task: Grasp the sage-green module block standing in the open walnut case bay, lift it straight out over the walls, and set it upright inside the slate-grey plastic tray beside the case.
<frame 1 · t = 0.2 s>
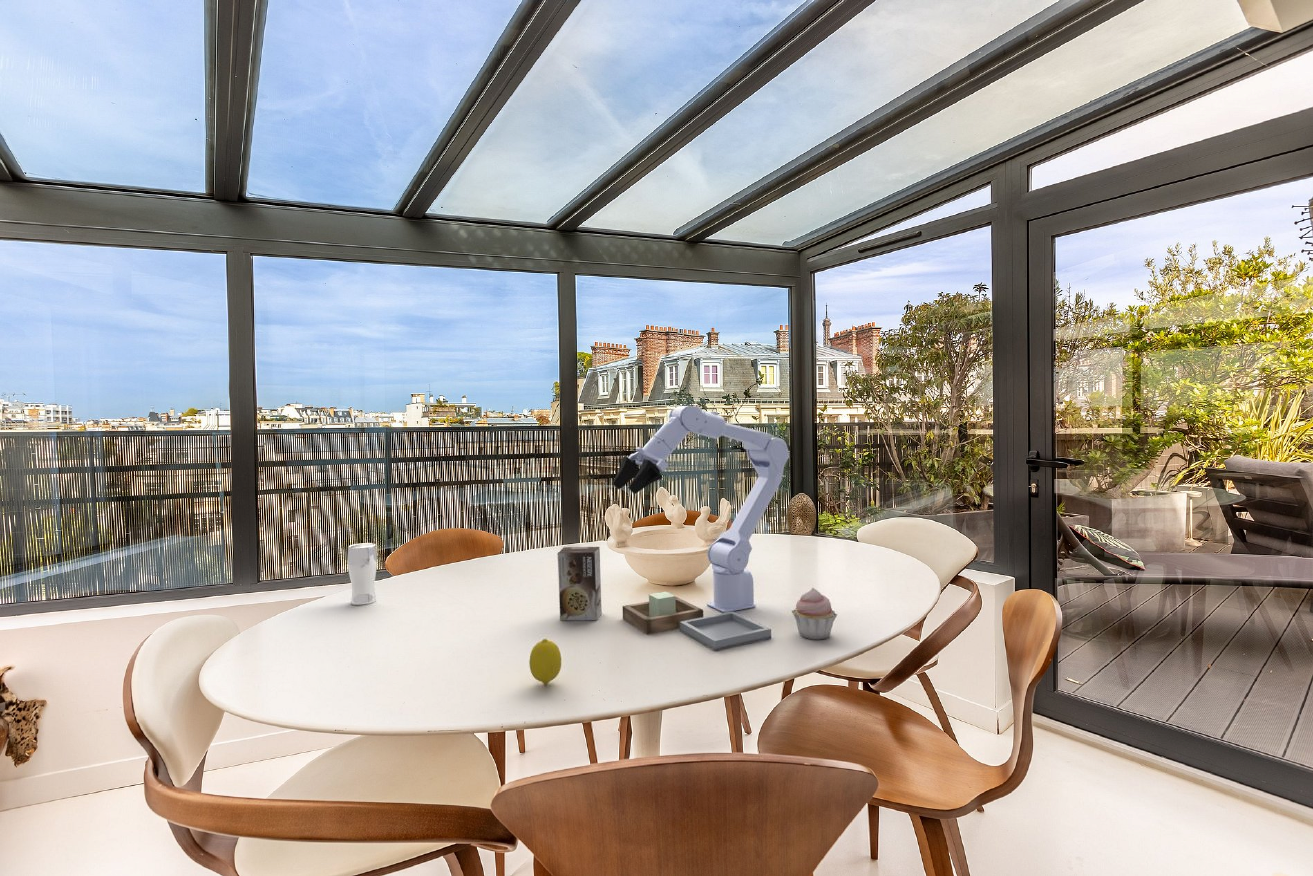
hand: (623, 488, 138), 31 cm above the table, fingers open, 7 cm apart
case bay: (662, 620, 142), on the table
lemon: (546, 685, 108), on the table
coffee box: (581, 617, 146), on the table
cupcake: (814, 636, 130), on the table
beer glass: (363, 602, 163), on the table
tray: (724, 634, 132), on the table
module: (662, 621, 142), resting in case bay
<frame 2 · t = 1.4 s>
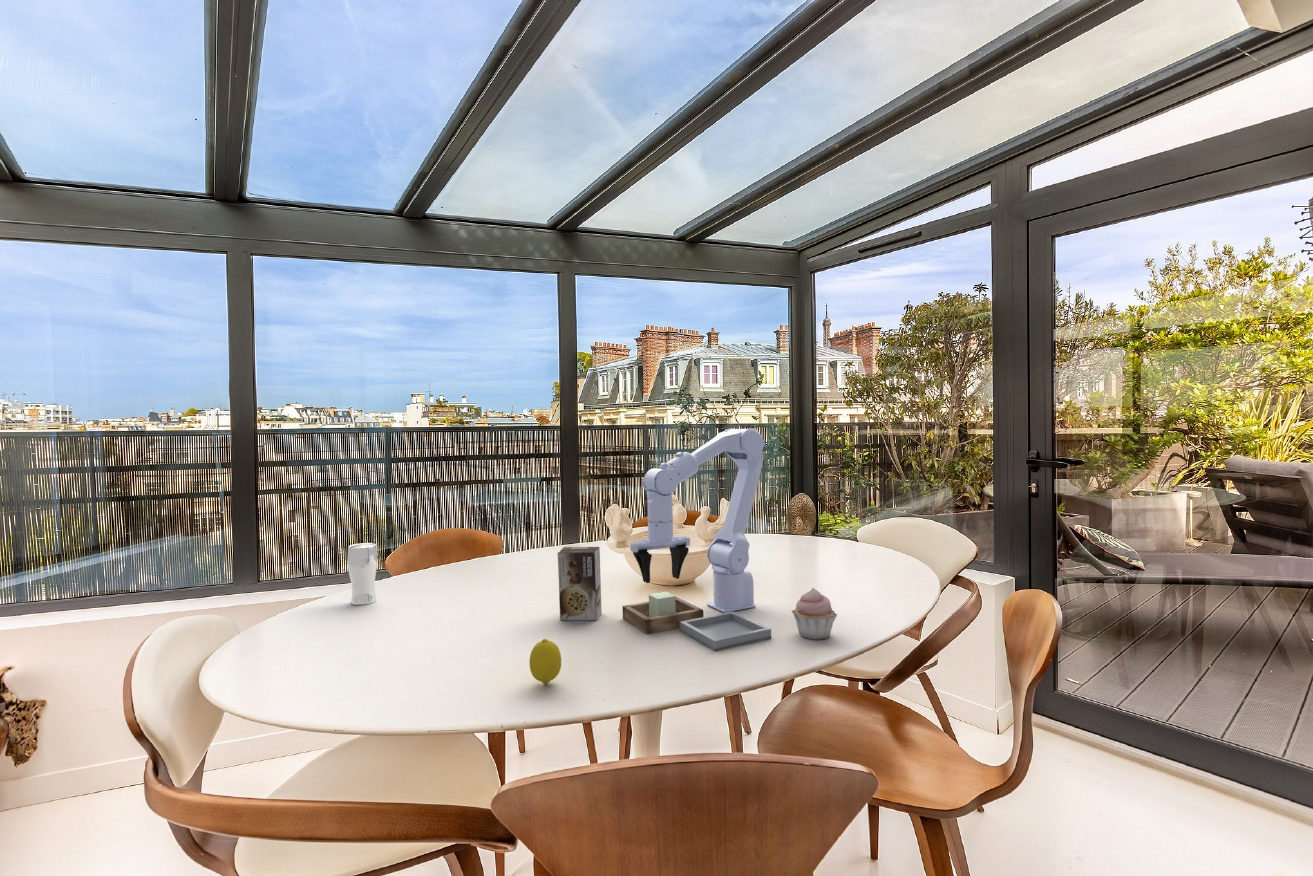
hand: (661, 579, 142), 9 cm above the table, fingers open, 7 cm apart
nothing on the table moved.
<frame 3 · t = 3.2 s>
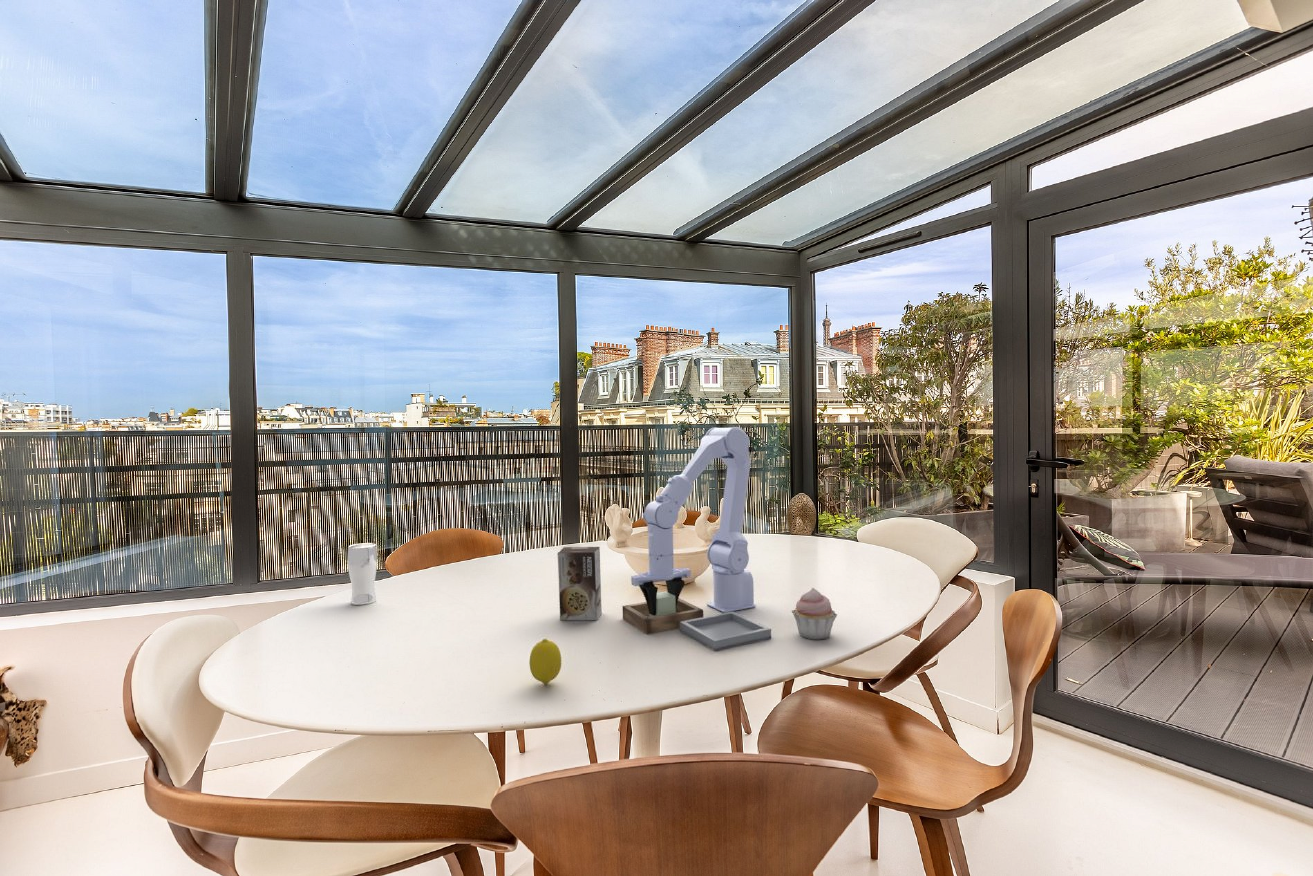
hand: (662, 612, 142), 2 cm above the table, fingers closed on module, 4 cm apart
module: (662, 620, 142), resting in case bay, touching gripper
everything else where it was.
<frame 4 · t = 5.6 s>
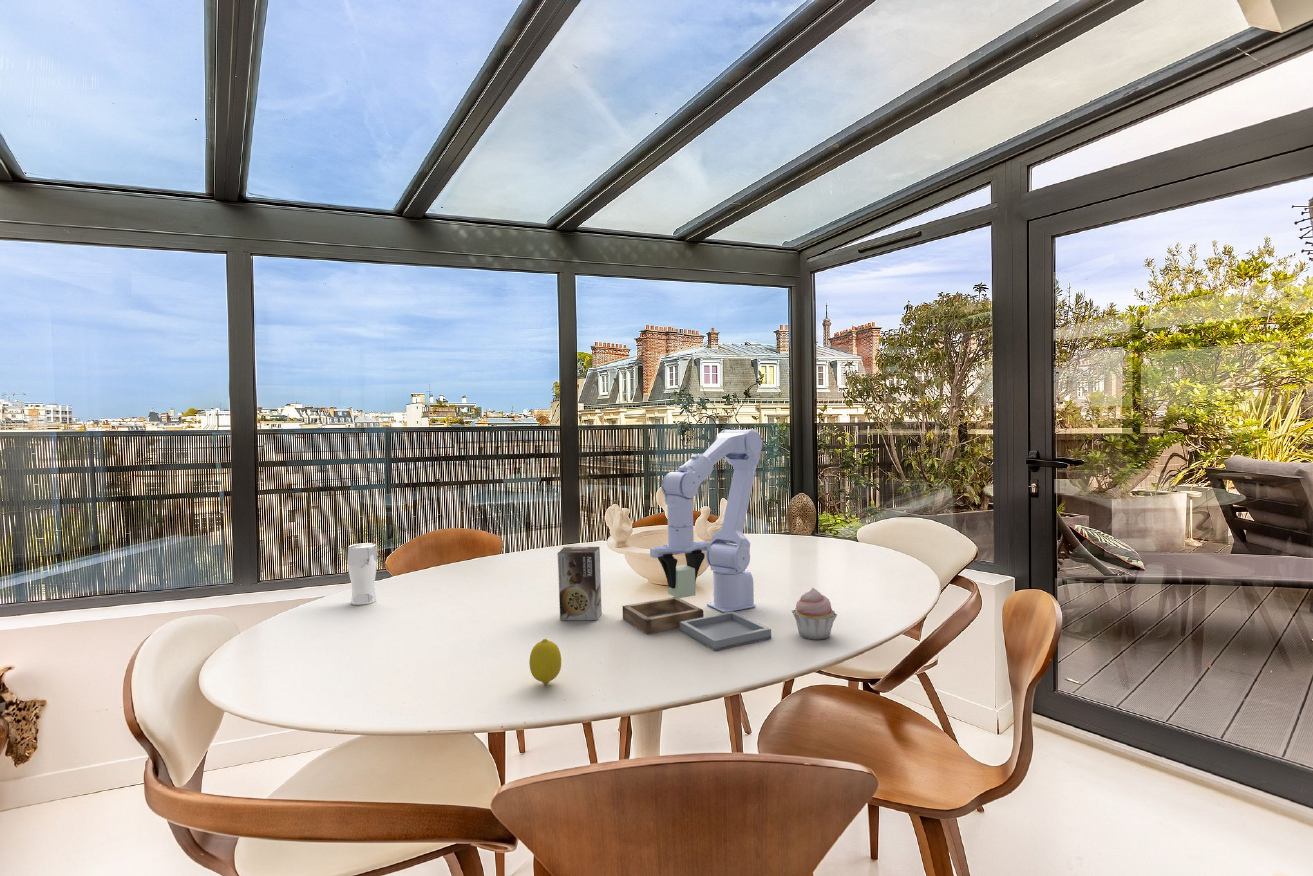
hand: (681, 585, 138), 9 cm above the table, fingers closed on module, 4 cm apart
module: (681, 594, 138), point 7 cm above the table, touching gripper
everything else where it was.
when the fingers open (4 cm above the table, at t = 8.2 s): module drops 1 cm, resting on tray.
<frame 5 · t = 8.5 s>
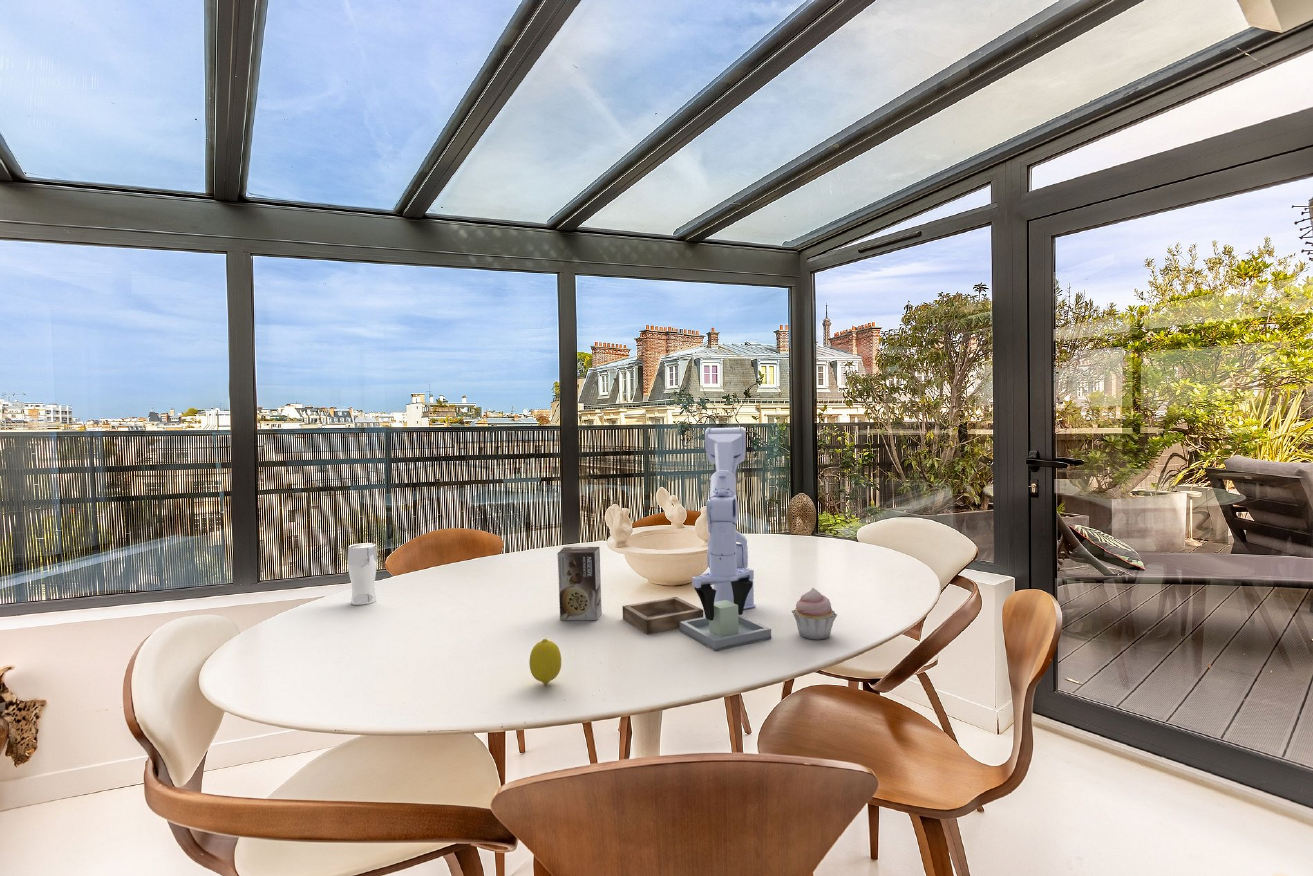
hand: (724, 616, 132), 4 cm above the table, fingers open, 7 cm apart
module: (723, 632, 132), resting on tray
everything else where it was.
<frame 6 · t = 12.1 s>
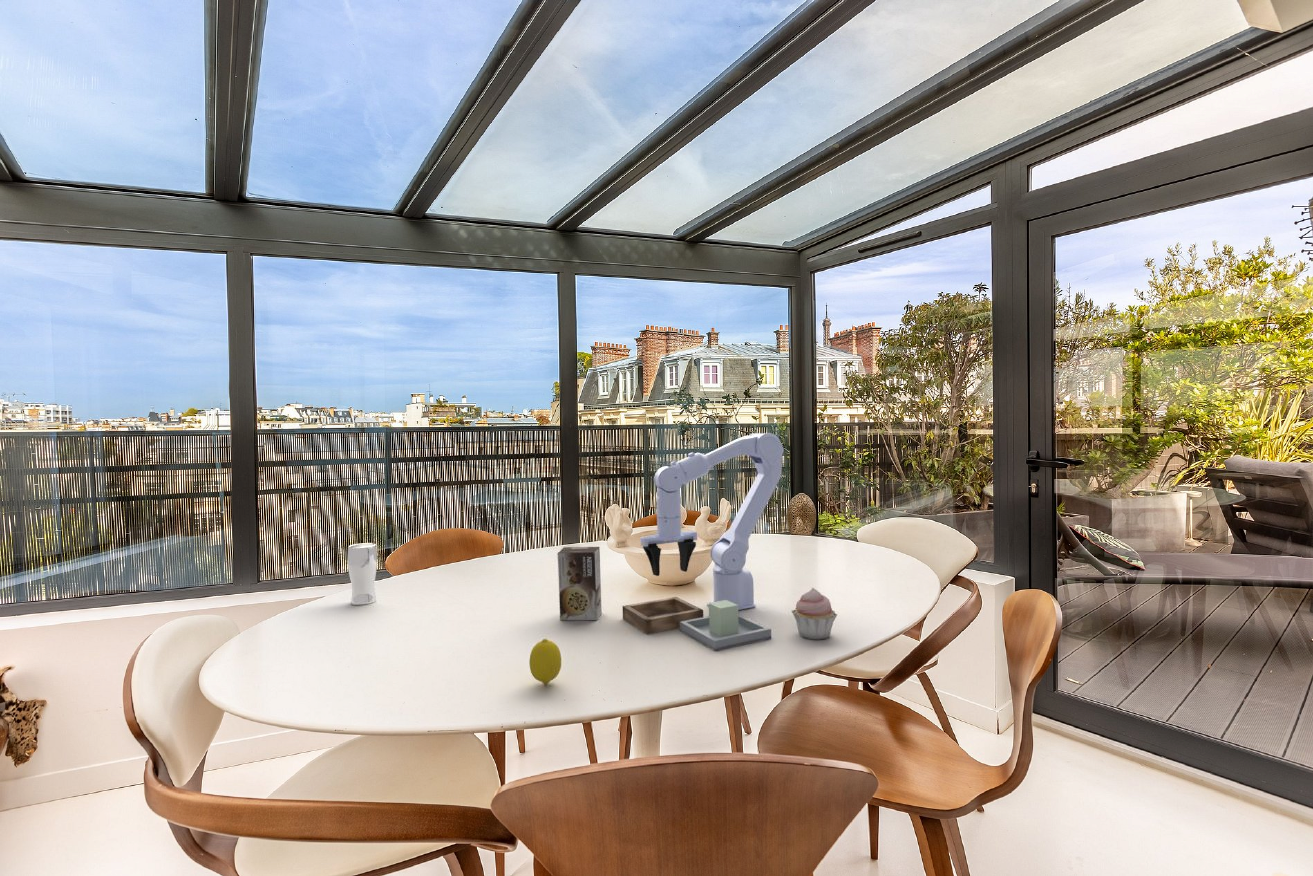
hand: (670, 572, 148), 9 cm above the table, fingers open, 7 cm apart
nothing on the table moved.
at the end: module inside the target area on the tray (0.1 cm from its centre), point 0.5 cm above the tray's base; module tilted 0°; the gripper is holding nothing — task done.
